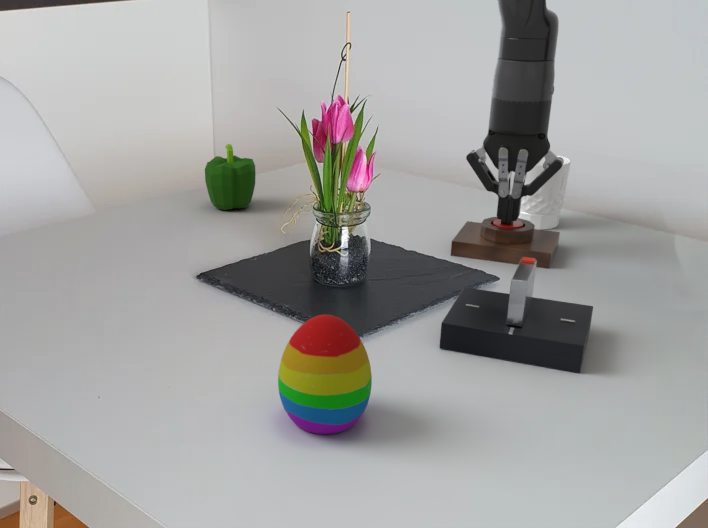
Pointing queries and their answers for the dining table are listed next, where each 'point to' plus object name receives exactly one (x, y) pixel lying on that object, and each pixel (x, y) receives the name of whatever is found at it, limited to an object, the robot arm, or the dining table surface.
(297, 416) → the decorative egg
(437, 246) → the dining table surface
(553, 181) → the white cup
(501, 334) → the card holder base
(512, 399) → the dining table surface
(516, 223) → the button
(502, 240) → the button block
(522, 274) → the grey rectangular box
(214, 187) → the bell pepper
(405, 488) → the dining table surface
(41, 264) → the dining table surface
